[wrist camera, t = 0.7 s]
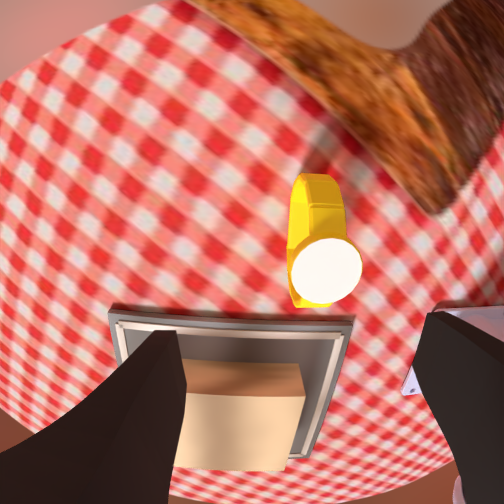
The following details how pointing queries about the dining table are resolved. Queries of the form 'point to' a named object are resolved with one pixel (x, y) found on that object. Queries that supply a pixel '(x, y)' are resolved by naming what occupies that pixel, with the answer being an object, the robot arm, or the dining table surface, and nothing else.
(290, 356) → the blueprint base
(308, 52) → the dining table surface
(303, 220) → the watch
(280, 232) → the dining table surface
